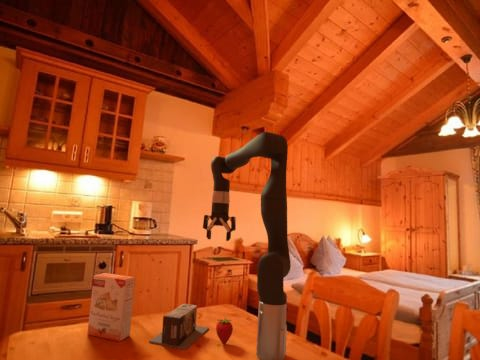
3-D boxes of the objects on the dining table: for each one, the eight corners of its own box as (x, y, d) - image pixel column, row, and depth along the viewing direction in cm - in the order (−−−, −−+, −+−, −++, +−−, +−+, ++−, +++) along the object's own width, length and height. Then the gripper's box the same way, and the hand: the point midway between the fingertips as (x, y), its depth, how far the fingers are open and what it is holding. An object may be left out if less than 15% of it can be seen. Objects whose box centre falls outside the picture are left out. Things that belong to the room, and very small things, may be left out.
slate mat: (209, 329, 118) (209, 327, 118) (185, 349, 99) (186, 348, 99) (177, 323, 122) (177, 322, 122) (149, 342, 103) (149, 340, 103)
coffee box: (196, 329, 116) (178, 347, 100) (180, 327, 117) (160, 344, 101) (197, 305, 116) (180, 318, 101) (182, 303, 118) (162, 316, 102)
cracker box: (86, 335, 106) (92, 274, 109) (98, 329, 112) (104, 272, 114) (119, 342, 102) (125, 279, 105) (130, 336, 108) (136, 276, 110)
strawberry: (215, 349, 101) (216, 318, 102) (215, 339, 109) (216, 311, 110) (232, 349, 101) (234, 318, 103) (231, 340, 109) (233, 311, 110)
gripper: (202, 201, 130) (199, 239, 128) (233, 202, 126) (231, 241, 124) (208, 202, 137) (206, 238, 135) (238, 203, 133) (236, 240, 131)
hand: (218, 240), depth 129 cm, fingers open, 8 cm apart
